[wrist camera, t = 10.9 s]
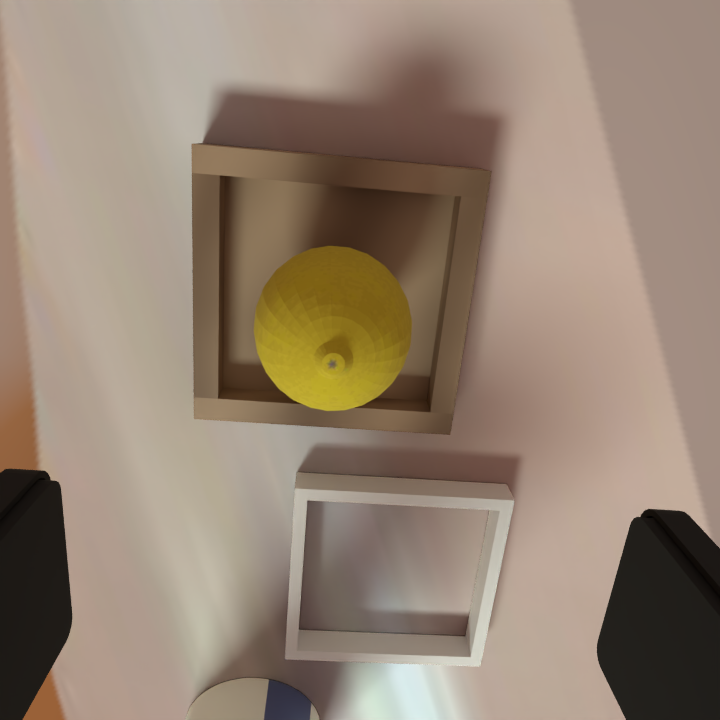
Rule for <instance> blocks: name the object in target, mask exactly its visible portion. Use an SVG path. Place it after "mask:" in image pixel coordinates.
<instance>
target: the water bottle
mask: <svg viewBox="0 0 720 720" xmlns="http://www.w3.org/2000/svg"><path fill="white" fill-rule="evenodd" d="M186 720H320V719H319V716H318V713H317V711H316V709H315V707H314V706H313V704H312V703H311V702H310V701H309V699H308V698H307V697H305V696H304V695H303V694H302V693H301V692H299V691H298V690H296V689H294V688H292V687H290V686H288V685H286V684H284V683H281V682H277V681H274V680H269V679H263V678H241V679H235V680H230V681H226V682H223V683H220V684H218V685H216V686H214V687H212V688H210V689H208V690H207V691H205V692H204V693H202V694H201V695H200V696H199V697H198V698H197V699H196V700H195V701H194V702H193V704H192V705H191V707H190V709H189V710H188V713H187V716H186Z"/></svg>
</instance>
